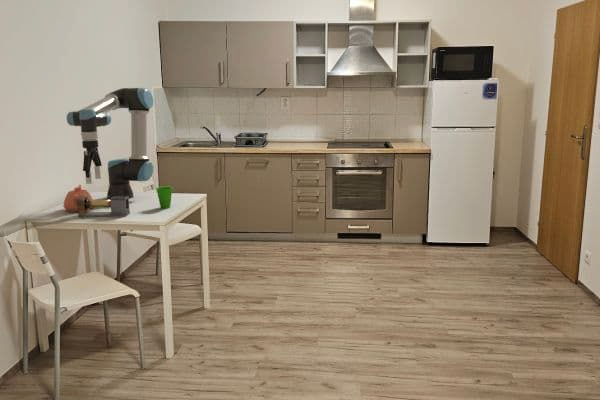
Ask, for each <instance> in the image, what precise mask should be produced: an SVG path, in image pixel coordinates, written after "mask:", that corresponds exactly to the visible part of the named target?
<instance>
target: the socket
mask: <svg viewBox="0 0 600 400" xmlns="http://www.w3.org/2000/svg"><path fill="white" fill-rule="evenodd" d="M87 199H89V197H88V195H82V196H80V197H78V198H77V205H78V212H77V214H78V217H79V216H80V217H79V218H86V217H85V215H86V214H88V213H89V212H91V209H86V208H85V206H84V200H87ZM82 216H83V217H82Z"/></svg>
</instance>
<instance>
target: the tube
mask: <svg viewBox="0 0 600 400" xmlns="http://www.w3.org/2000/svg"><path fill="white" fill-rule="evenodd" d="M84 206H85V208H86V209H89V208H91V209H101V208H103V209H105V208H107V209H109V208H110V209H111V202H110V199H93V200H89V199H87V200H84Z"/></svg>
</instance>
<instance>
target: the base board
mask: <svg viewBox="0 0 600 400" xmlns="http://www.w3.org/2000/svg"><path fill="white" fill-rule="evenodd" d="M127 216H129V215H128V214H127ZM127 216H126V215H111V211H90V212H89V213H88V214H86V215H85V217H83V216H82V217H80V216H79V215H78V218H111V217H112V218H122V217H123V218H124V217H125V218H126V217H127Z"/></svg>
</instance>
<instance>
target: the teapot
mask: <svg viewBox="0 0 600 400" xmlns="http://www.w3.org/2000/svg"><path fill="white" fill-rule="evenodd" d="M73 189H74V190H69V191H68V192H67V194H66V195H65V198H64V201H63V208H64V210H66V211H67V212H72V213H75V212H77V213H78V205H77V198H78V197H80V196H82V195H88V197H89V200H94V199H93V197H92V196H91V194H90V193H89V191H88V190H87V189H83V188H82V185H81V184H78V186H76V187H73ZM89 209H90V210H91V209H92V208H89Z"/></svg>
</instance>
